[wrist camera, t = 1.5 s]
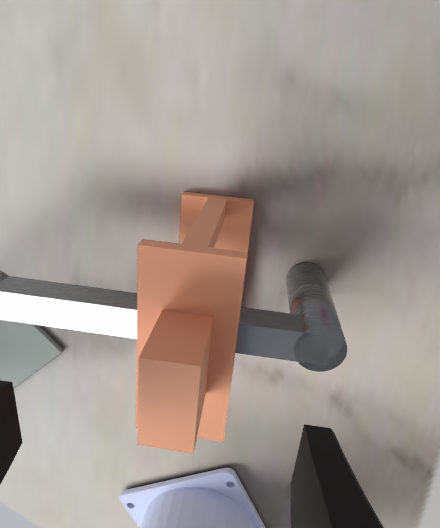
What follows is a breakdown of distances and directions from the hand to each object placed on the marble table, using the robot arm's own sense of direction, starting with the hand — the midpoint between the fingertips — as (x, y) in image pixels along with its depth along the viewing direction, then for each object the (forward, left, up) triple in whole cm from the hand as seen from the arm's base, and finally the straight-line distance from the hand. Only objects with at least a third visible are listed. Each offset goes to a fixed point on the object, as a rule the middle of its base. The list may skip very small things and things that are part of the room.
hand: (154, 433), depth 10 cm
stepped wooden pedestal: (0, 0, -11) cm, 11 cm away
